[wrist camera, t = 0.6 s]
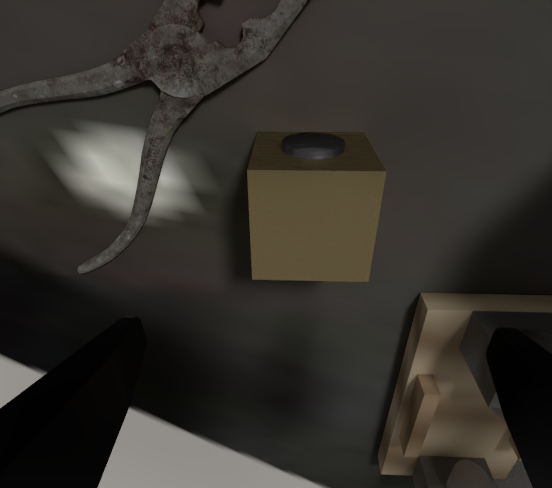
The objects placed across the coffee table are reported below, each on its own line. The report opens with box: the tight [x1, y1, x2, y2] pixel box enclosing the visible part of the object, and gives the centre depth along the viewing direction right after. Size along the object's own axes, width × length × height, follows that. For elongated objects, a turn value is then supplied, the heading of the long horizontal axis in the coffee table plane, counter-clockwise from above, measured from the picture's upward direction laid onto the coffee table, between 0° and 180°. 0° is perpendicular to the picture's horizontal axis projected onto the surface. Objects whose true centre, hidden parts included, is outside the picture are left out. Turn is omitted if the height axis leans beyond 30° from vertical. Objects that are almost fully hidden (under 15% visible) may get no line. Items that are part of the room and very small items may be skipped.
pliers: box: [0, 0, 308, 274], centre depth 17 cm, size 10×1×20 cm
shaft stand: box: [378, 293, 552, 488], centre depth 25 cm, size 18×10×6 cm, turn 0°
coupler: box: [247, 132, 386, 282], centre depth 17 cm, size 5×6×5 cm
